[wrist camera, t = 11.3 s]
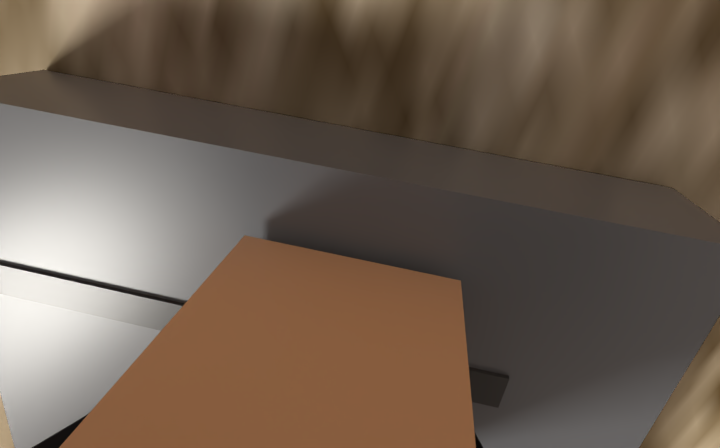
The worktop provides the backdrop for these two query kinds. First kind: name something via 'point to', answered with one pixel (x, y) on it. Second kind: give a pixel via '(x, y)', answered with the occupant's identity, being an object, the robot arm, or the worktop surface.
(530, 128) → the worktop surface
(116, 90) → the console
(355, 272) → the fader terracotta
